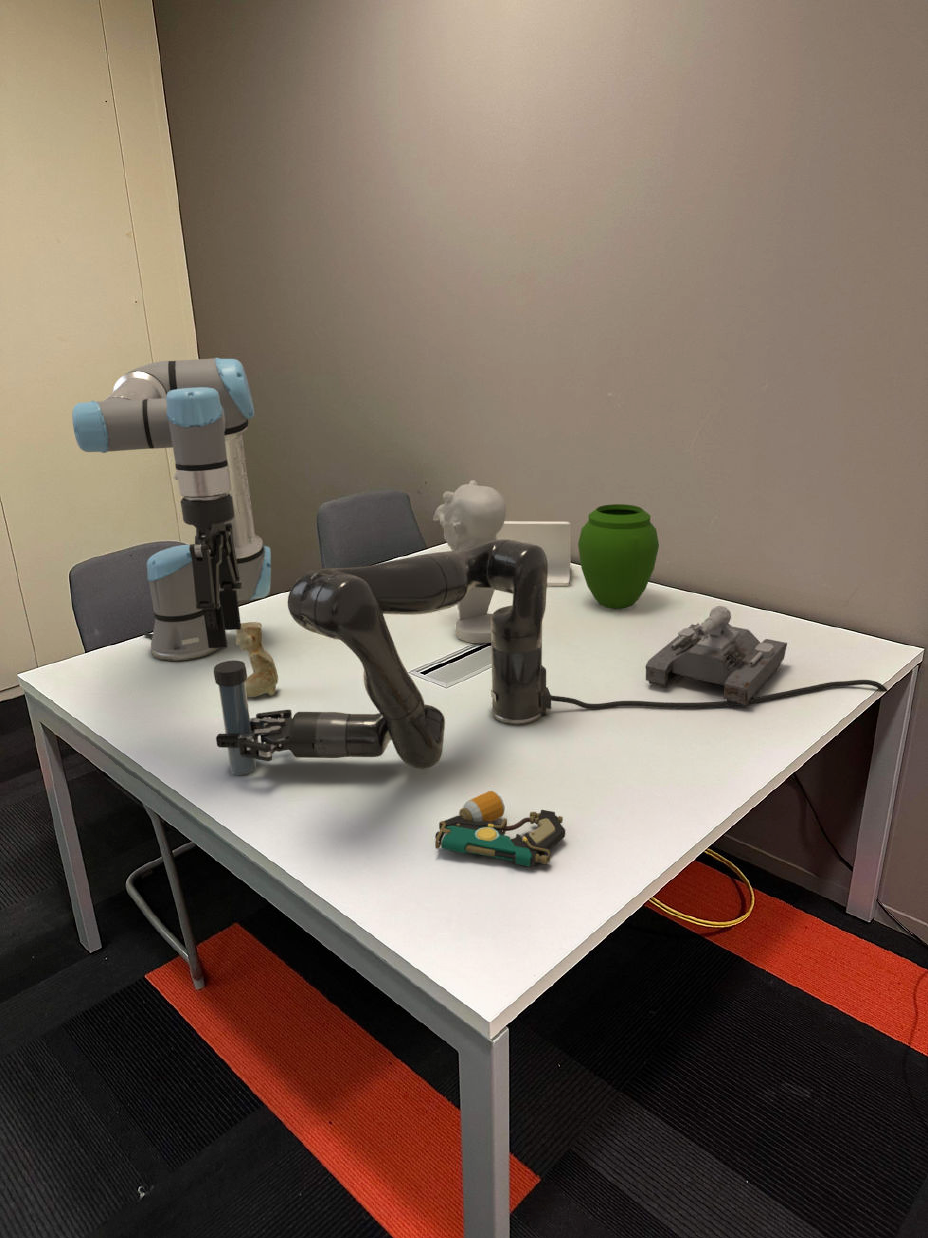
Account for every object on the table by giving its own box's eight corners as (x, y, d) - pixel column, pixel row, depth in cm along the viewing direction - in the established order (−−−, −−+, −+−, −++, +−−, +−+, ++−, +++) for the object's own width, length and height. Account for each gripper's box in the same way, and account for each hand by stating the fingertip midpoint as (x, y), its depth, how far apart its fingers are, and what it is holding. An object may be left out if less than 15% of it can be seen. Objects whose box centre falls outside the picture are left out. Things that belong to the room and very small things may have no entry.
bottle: (227, 767, 145) (212, 668, 138) (250, 760, 147) (237, 661, 140) (236, 778, 141) (222, 676, 135) (260, 769, 144) (247, 669, 137)
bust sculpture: (477, 606, 216) (474, 468, 204) (528, 636, 196) (528, 485, 184) (420, 618, 209) (413, 476, 197) (467, 650, 189) (462, 494, 177)
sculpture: (244, 688, 174) (235, 619, 168) (280, 686, 174) (272, 617, 169) (241, 701, 168) (231, 630, 163) (278, 698, 169) (269, 628, 164)
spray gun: (576, 835, 125) (528, 897, 113) (478, 798, 133) (424, 852, 121) (578, 811, 123) (529, 871, 111) (479, 775, 131) (423, 828, 119)
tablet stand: (569, 585, 229) (570, 524, 223) (476, 584, 232) (475, 523, 226) (570, 566, 246) (571, 508, 240) (484, 564, 249) (483, 507, 243)
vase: (599, 587, 227) (601, 497, 218) (668, 600, 216) (673, 505, 208) (562, 608, 212) (564, 513, 204) (634, 623, 202) (639, 523, 193)
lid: (210, 679, 139) (208, 665, 138) (240, 671, 142) (238, 657, 141) (222, 689, 135) (220, 675, 134) (252, 680, 138) (250, 667, 137)
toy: (692, 645, 188) (696, 580, 183) (784, 664, 177) (792, 596, 172) (643, 687, 169) (647, 616, 164) (744, 712, 158) (751, 636, 153)
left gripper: (202, 482, 137) (220, 616, 145) (156, 511, 118) (180, 663, 126) (248, 481, 137) (264, 615, 145) (210, 510, 118) (230, 662, 126)
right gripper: (331, 695, 146) (233, 694, 147) (310, 735, 133) (203, 734, 134) (334, 734, 148) (238, 733, 150) (314, 777, 135) (209, 775, 137)
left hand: (225, 637), depth 136 cm, fingers open, 7 cm apart
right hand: (222, 733), depth 142 cm, fingers closed on bottle, 4 cm apart
